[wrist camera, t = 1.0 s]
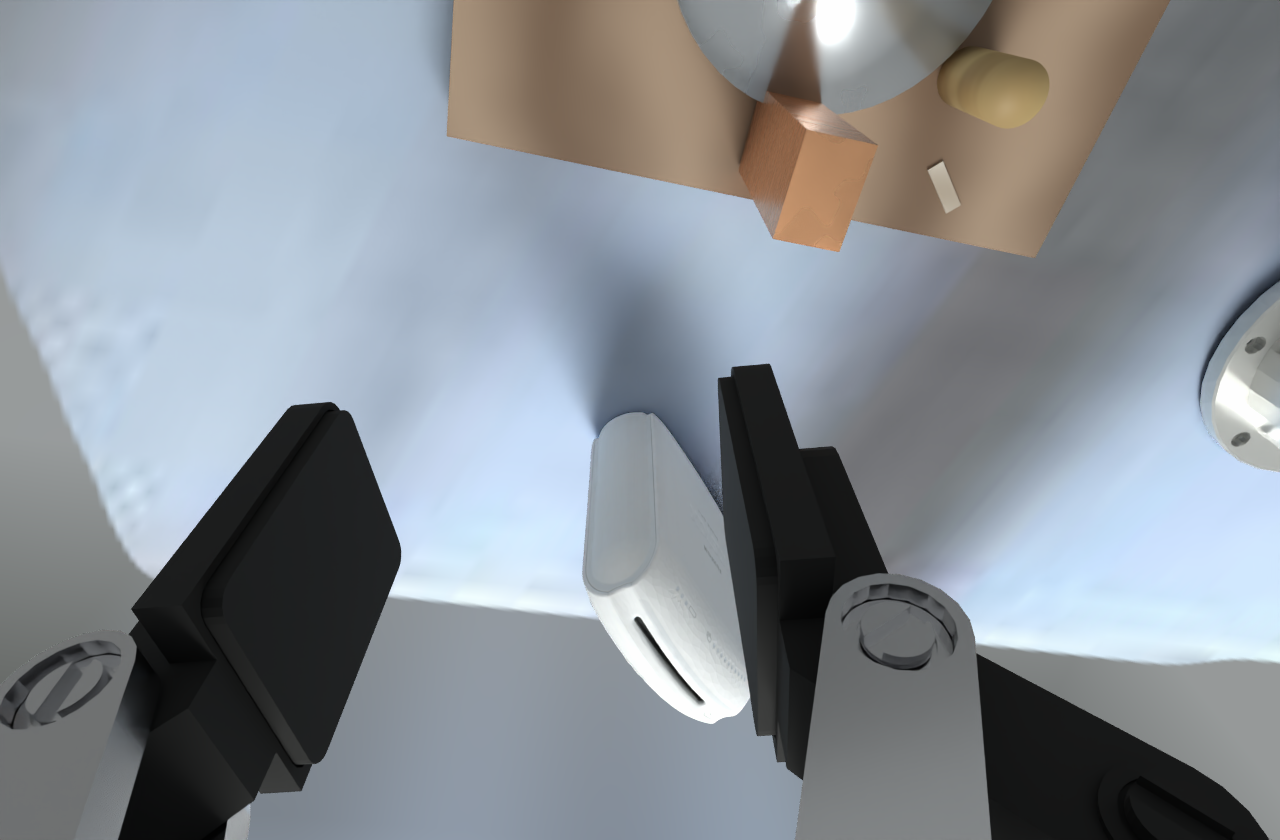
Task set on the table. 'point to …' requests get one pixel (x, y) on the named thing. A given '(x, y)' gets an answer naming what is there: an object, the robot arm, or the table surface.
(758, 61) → the flange plate
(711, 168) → the walnut board
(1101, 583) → the table surface
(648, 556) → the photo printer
